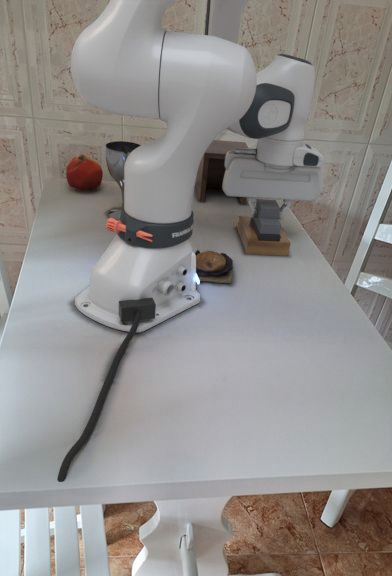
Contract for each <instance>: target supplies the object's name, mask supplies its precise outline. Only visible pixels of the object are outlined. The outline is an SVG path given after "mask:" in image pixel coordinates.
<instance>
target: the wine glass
mask: <svg viewBox="0 0 392 576" xmlns="http://www.w3.org/2000/svg"><path fill="white" fill-rule="evenodd" d="M139 146H141V144H139V143H137V142H132V141H125V140H123V141H122V140H120V141H119V140H117V141H109V142H107V143H106V144H105V151H104V153H105V161H106V166H107V170H108V173H109V175H110V177H111V178H112V179H113V180H114V182H115V183H116V184H117V185H118V187H119V188H120V191H121V200H122V204H121V205H122V207H123V206H124V165H125V162H126V159H127V157H128V156H129V154H130V153H131V152H132V151H133V150H134V149H136V148H137V147H139ZM122 207H118V208H117V207H116V208H113V209H110V210H109V211H108V213H107V214H108V216H109V218H114V219H115V220H117V221H119V216H120V214H121V210H122Z"/></svg>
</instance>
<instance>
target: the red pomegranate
mask: <svg viewBox="0 0 392 576" xmlns="http://www.w3.org/2000/svg"><path fill="white" fill-rule="evenodd" d="M65 171H66V173H65V177H66V181H67V184H68V186H69V187H71V188H72V189H75V190H78V191H95V190H97V189H98V188H99V187H101V185H102V181H103V176H104V172H103V169H102V166H101V164H99V163H98V161H96V160H94V159H92V158H90V157H88V156H86V155H85V154H83V153H81V154H79V155H76V156H74V157H73V158H72V159H71V160H70V161H69V162H68V164H67V166H66V170H65Z"/></svg>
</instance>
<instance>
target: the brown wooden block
mask: <svg viewBox="0 0 392 576" xmlns="http://www.w3.org/2000/svg"><path fill="white" fill-rule="evenodd" d="M250 220H251V218H250V216H249V215H238V220H237V225H236V229H237V232H238V234H239V235H238V236H239V237H240V241H241V243H242V246H243V249H244V251H245V254H246V255H261V256H263V255H264V256H284V257H285V256H286V257H287V256H289V252H290V247H291V241H290V239H289V237H288V235H287V234H286V233H287V232H286V231H285V230H284V228H283V225H281V230H280V235H281V238H280V241H267V240H258V238H257V235H256V233H255V230H254V228H253V226H252V223H251V221H250Z"/></svg>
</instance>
